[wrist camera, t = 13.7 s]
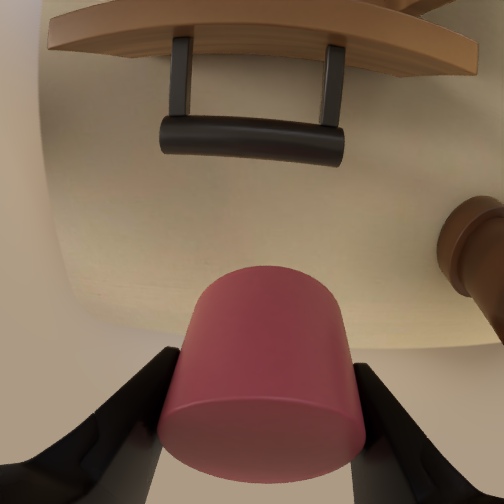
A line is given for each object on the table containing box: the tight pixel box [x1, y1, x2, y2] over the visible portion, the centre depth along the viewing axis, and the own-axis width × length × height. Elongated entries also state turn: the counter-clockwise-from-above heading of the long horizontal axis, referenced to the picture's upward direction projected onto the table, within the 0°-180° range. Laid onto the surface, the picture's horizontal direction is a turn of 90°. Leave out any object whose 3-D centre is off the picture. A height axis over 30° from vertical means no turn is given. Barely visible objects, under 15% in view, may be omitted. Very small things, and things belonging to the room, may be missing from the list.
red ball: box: [157, 266, 366, 484], centre depth 9 cm, size 5×5×5 cm
